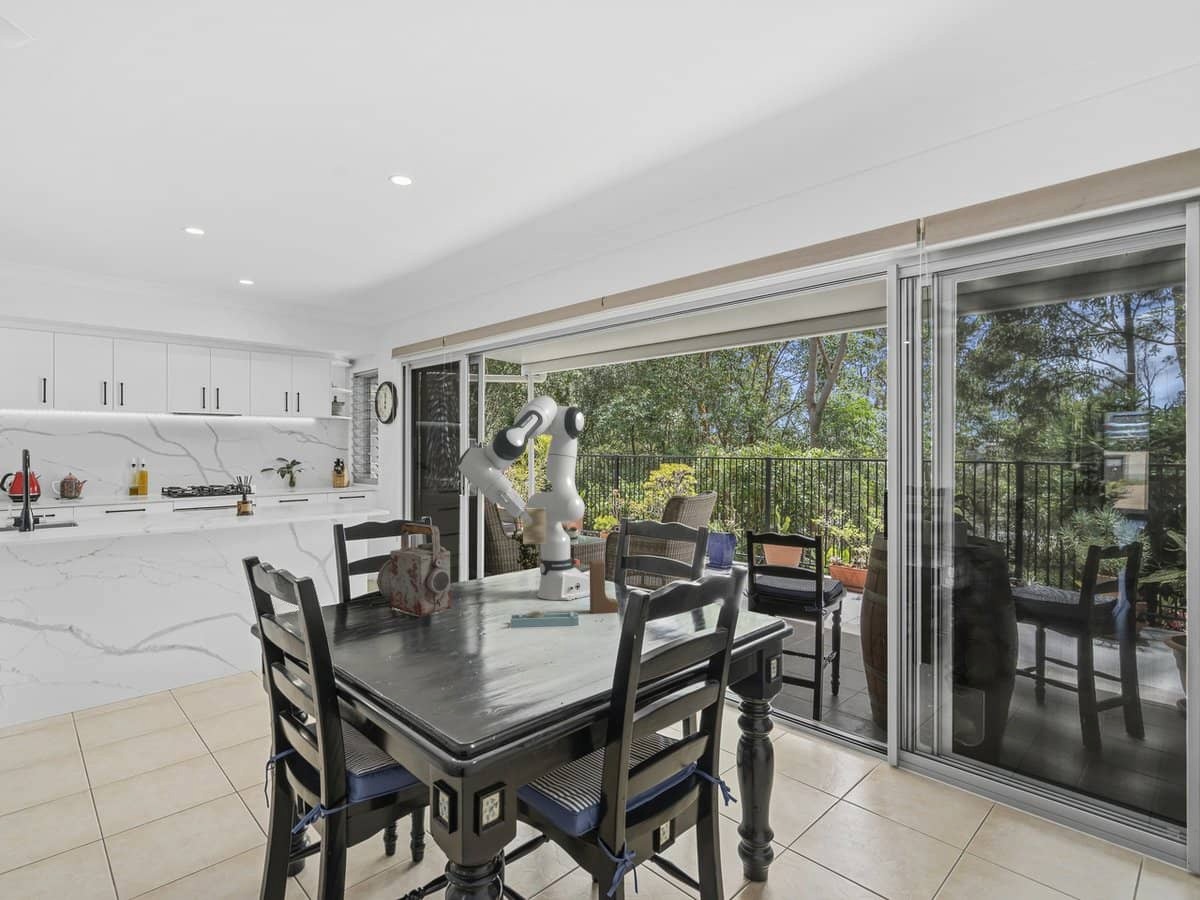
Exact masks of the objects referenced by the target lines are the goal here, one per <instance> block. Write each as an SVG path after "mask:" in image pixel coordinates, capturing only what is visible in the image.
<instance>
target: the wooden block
mask: <svg viewBox="0 0 1200 900" xmlns="http://www.w3.org/2000/svg"><path fill="white" fill-rule="evenodd" d="M589 583H590V596H589V612H590V613H591V614H592V615H597V614H598V615H600V614H619V602H618V600H617V599H616V598H611V597H608V596H607V594H606V563H605V561H604V560H601V559H600V560H590V561H589Z"/></svg>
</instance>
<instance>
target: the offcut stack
mask: <svg viewBox="0 0 1200 900" xmlns="http://www.w3.org/2000/svg"><path fill="white" fill-rule="evenodd" d="M525 614H526V617H524V618H543V614H544V610H526V611H525Z"/></svg>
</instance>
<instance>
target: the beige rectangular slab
mask: <svg viewBox="0 0 1200 900" xmlns="http://www.w3.org/2000/svg"><path fill="white" fill-rule="evenodd" d="M524 511H525V512H526V513H527V514H528V515H529V516H530V517H531V518H532V519H533V521H532V522H531V523H530V524H528V523H527V522H526V521H525V520H523V519H522V544H523V545H541V544H546V513H545V508H527V507H524Z"/></svg>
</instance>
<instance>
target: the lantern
mask: <svg viewBox="0 0 1200 900" xmlns="http://www.w3.org/2000/svg"><path fill="white" fill-rule="evenodd" d="M439 529H440V528H439V527H438V526H437V525H430V524H423V523H413V522H407V523H403V524H402V525H401V531H400V533H401V534H400V544H401V545H400V548H399V549H394V550H390V554H389V555H390V556H389V557H390V559H389V560H387V561H386V562H384V564H383V565H382V566H381V567H380V569H379V571H378V574H377V578H376V584H377V588H378V590H379V592H380V593H381V595H382V596H383V597H385V598H387V599H390V602H391V603H390V608H391V607H394V608H397V609H400V610H403V611H406V612H409V613H413V614H416V615H419V616H423V615H426V614H431V613H435V612H440V611H443V610H447V609H450V608H452V607H451V606H452V605H451V551H450V550H446V548H445V546H444V547H443V546H442V545H441V539H440V538H441V537H440V530H439ZM409 533H413V534H420V535H427V536H432V541H431V542H429V543H428V542H427V543H421V544H417V546H415V547H409V545H410V543H409Z"/></svg>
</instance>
